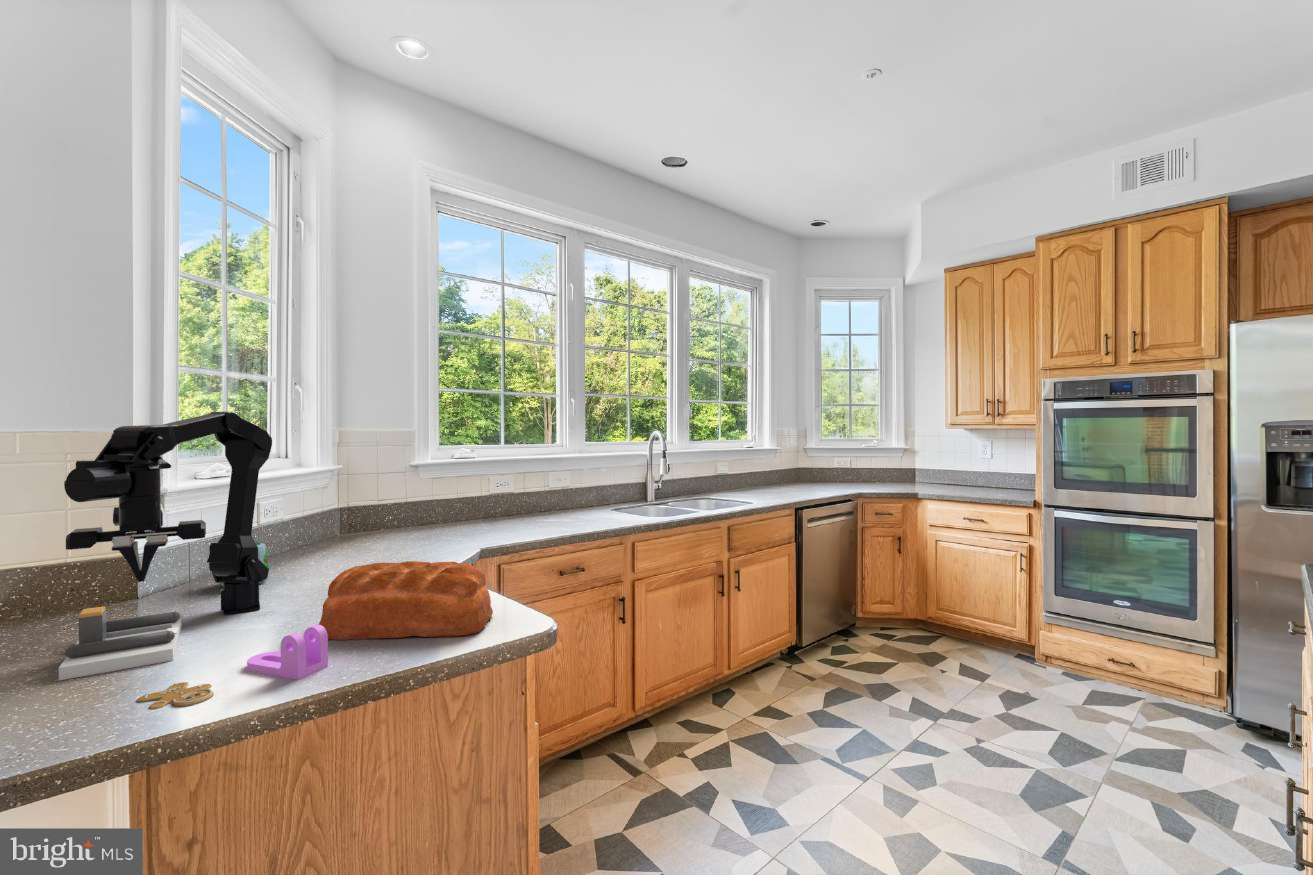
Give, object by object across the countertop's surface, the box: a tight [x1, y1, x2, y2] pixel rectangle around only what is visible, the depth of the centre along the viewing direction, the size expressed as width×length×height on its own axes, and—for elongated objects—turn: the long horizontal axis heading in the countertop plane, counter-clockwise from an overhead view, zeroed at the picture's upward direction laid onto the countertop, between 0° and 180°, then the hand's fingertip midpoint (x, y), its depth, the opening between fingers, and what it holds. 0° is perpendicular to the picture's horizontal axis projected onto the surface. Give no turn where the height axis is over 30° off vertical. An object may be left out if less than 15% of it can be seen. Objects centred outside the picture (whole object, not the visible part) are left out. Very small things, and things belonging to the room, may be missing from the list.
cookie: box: [135, 681, 215, 710], centre depth 89 cm, size 8×1×10 cm
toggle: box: [77, 606, 107, 644], centre depth 104 cm, size 3×4×6 cm
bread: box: [318, 560, 494, 641], centre depth 120 cm, size 16×31×13 cm, turn 94°
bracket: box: [246, 624, 329, 680], centre depth 99 cm, size 13×6×7 cm, turn 71°
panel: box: [58, 611, 183, 681], centre depth 107 cm, size 14×22×4 cm, turn 35°
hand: (141, 581), depth 108 cm, fingers closed
